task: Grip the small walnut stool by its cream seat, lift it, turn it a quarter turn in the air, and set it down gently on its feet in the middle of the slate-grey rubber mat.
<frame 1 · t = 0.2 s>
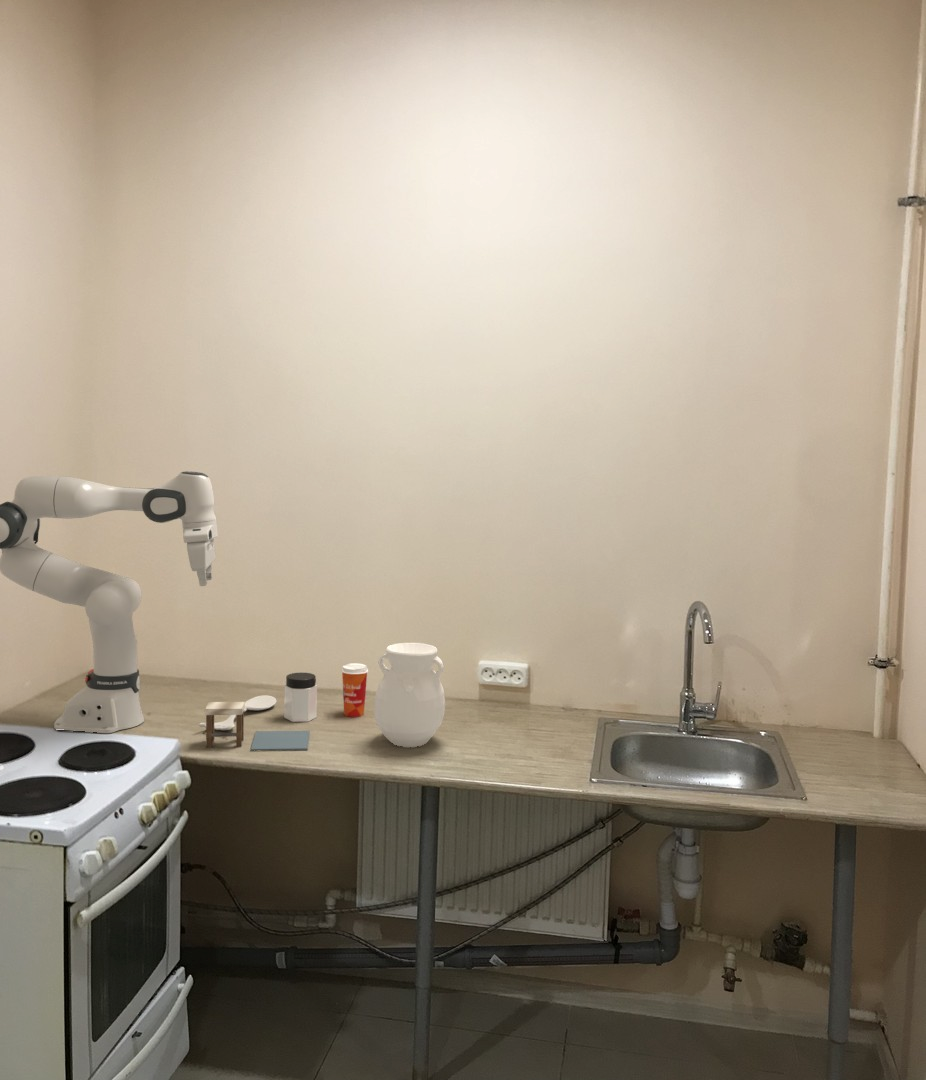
hand: (206, 582, 247), 39 cm above the worktop, tool pointing down, fingers open, 8 cm apart
mat: (281, 741, 238), on the worktop
jar: (300, 718, 258), on the worktop
stool: (225, 743, 235), on the worktop
white vase: (408, 741, 241), on the worktop
white spork: (242, 720, 256), on the worktop
paper cup: (354, 714, 263), on the worktop
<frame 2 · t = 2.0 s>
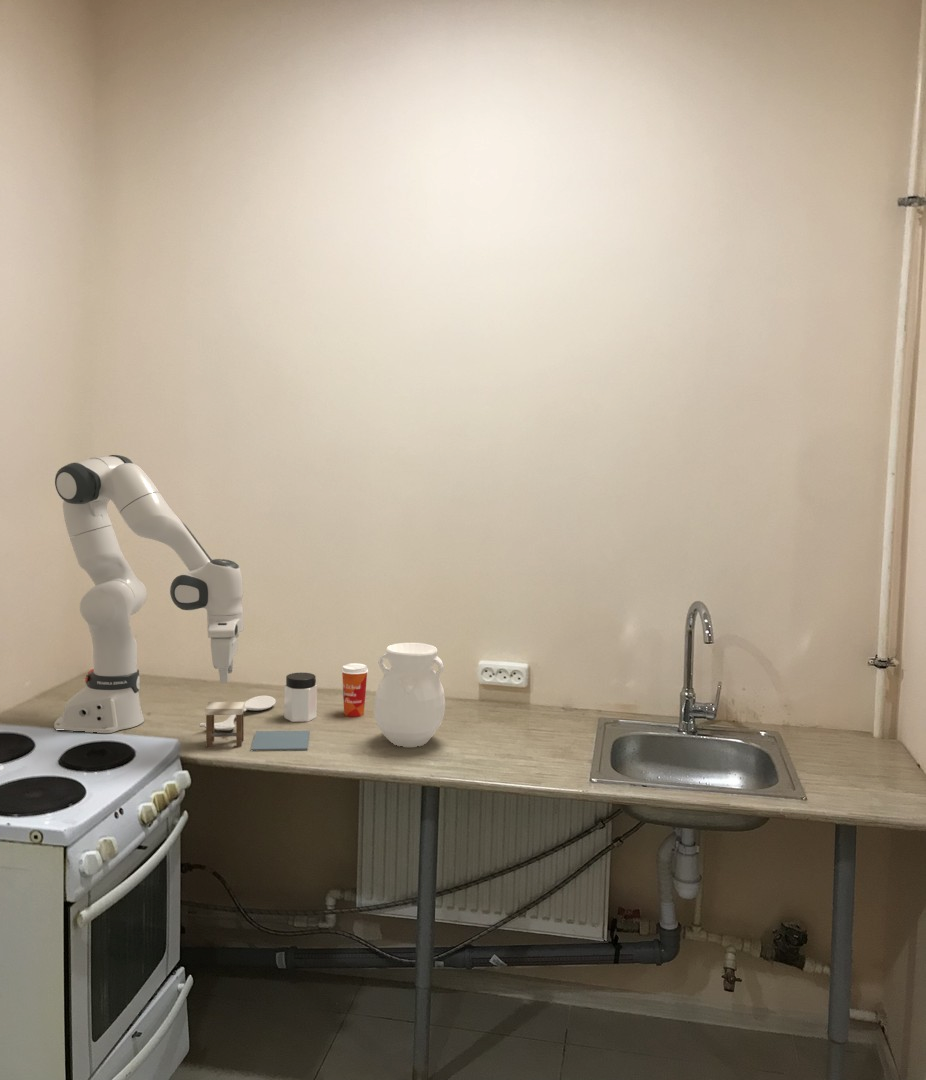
hand: (226, 677, 233), 17 cm above the worktop, tool pointing down, fingers open, 8 cm apart
nothing on the worktop moved.
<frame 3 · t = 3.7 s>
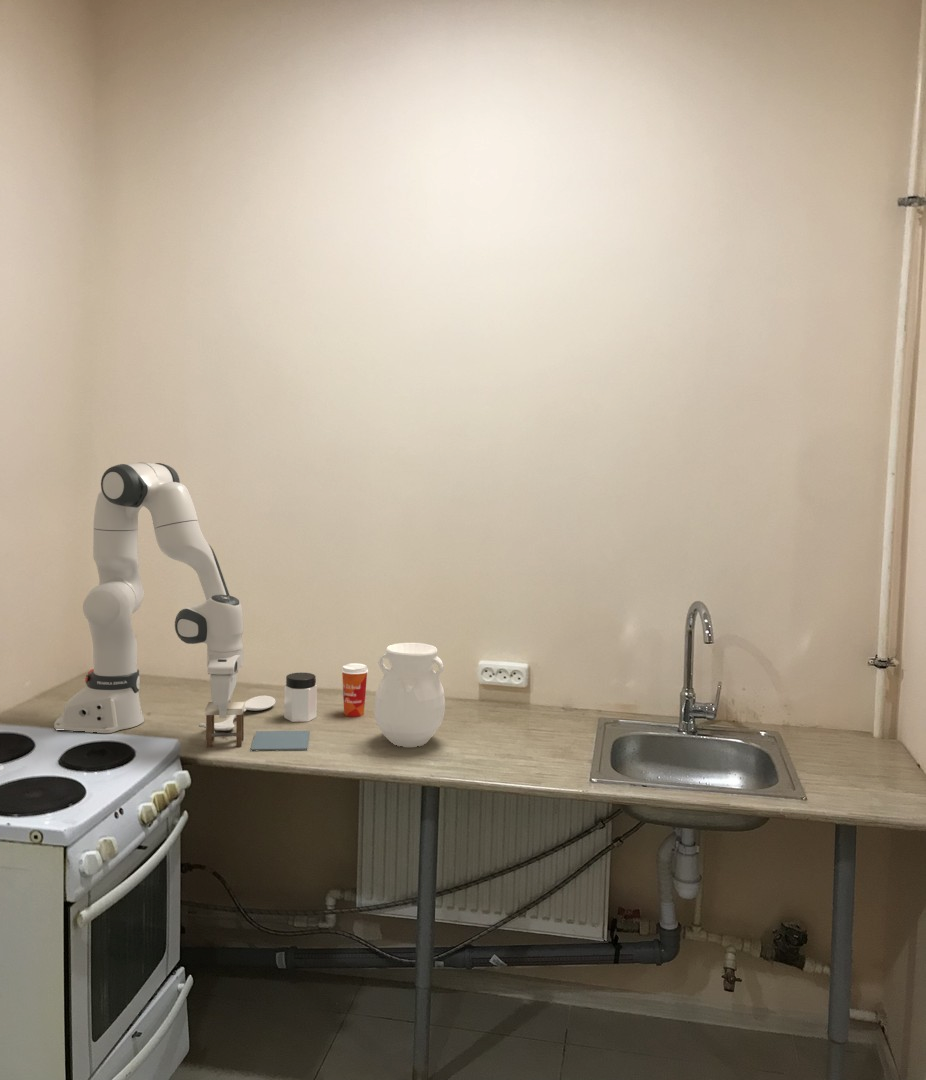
hand: (225, 712, 234), 8 cm above the worktop, tool pointing down, fingers closed on stool, 6 cm apart
stool: (225, 743, 235), on the worktop, touching gripper
everything else where it was.
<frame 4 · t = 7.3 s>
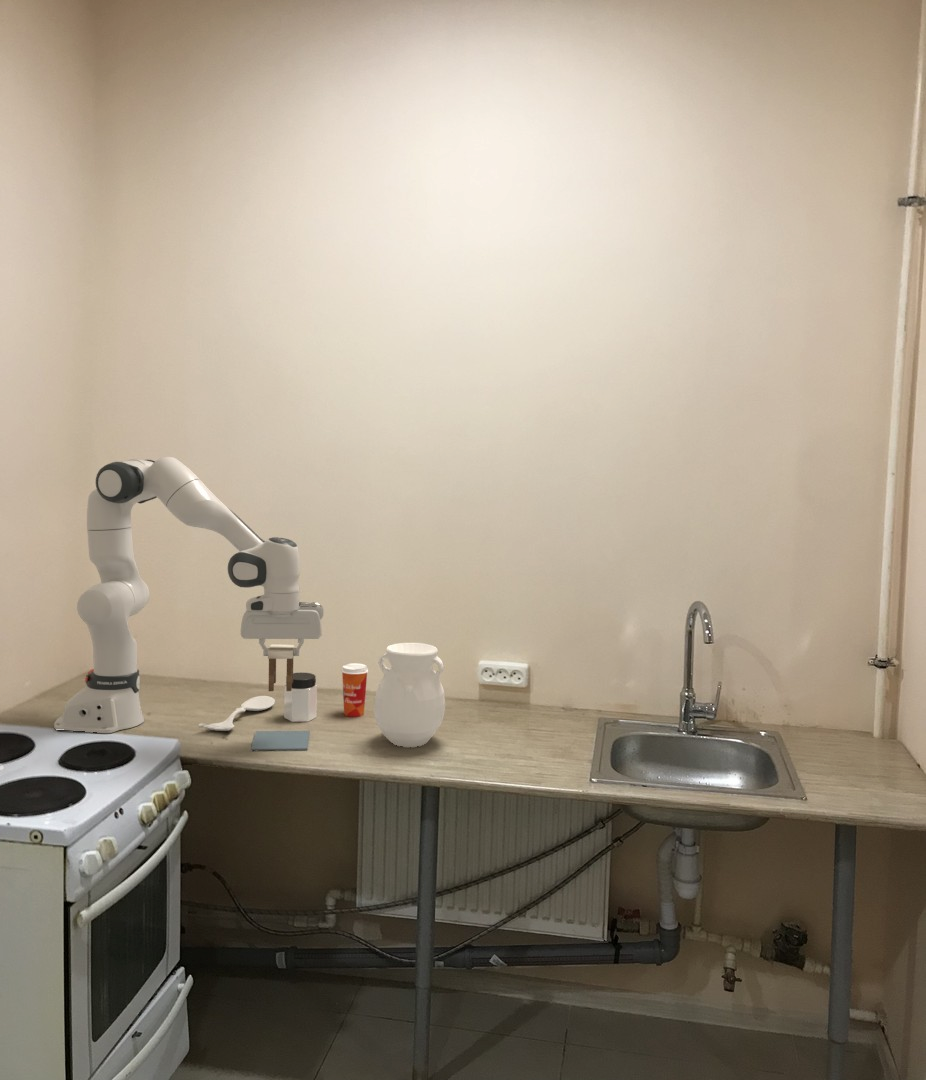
hand: (281, 655, 234), 23 cm above the worktop, tool pointing down, fingers closed on stool, 6 cm apart
stool: (281, 686, 235), point 15 cm above the worktop, touching gripper
everything else where it was.
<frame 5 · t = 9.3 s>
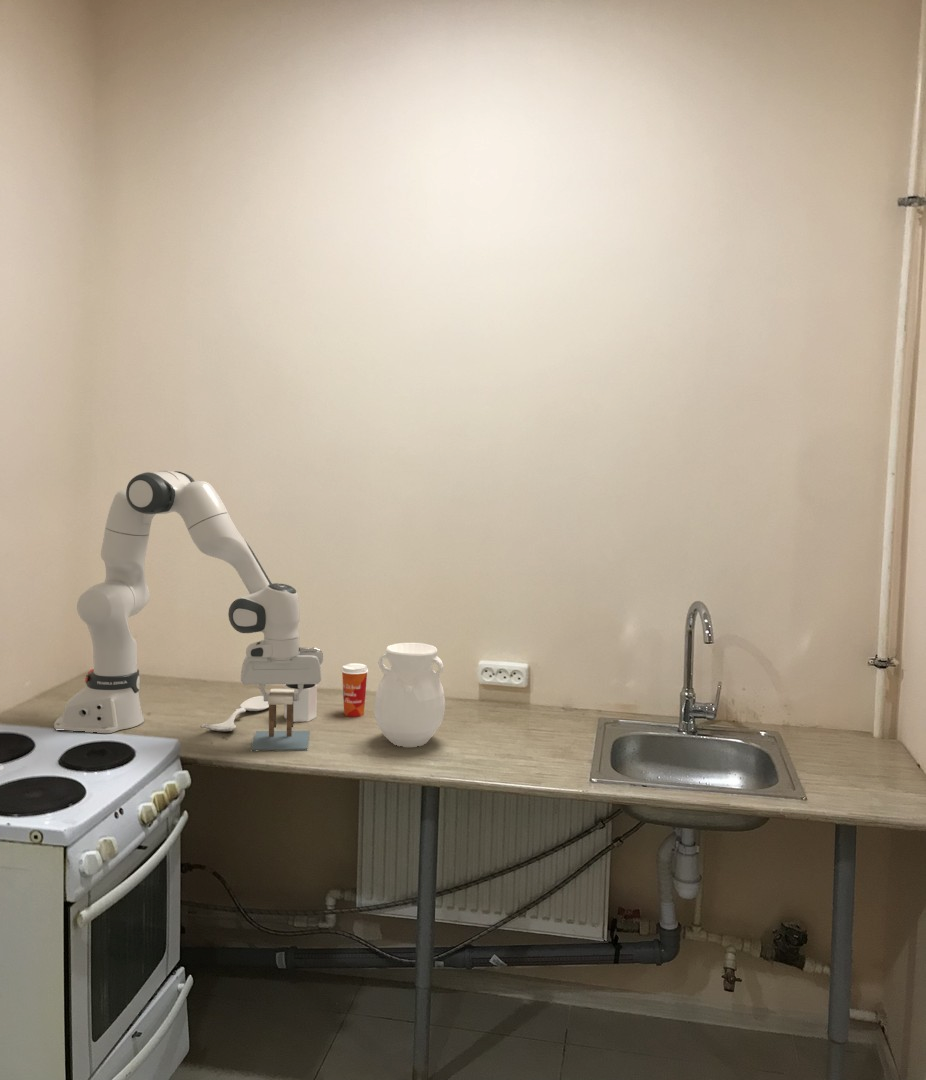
hand: (281, 700, 235), 11 cm above the worktop, tool pointing down, fingers closed on stool, 6 cm apart
stool: (281, 731, 236), point 3 cm above the worktop, touching gripper
everything else where it was.
when the fingers open (10 cm above the worktop, at t = 10.9 s): stool stays where it is, resting on mat.
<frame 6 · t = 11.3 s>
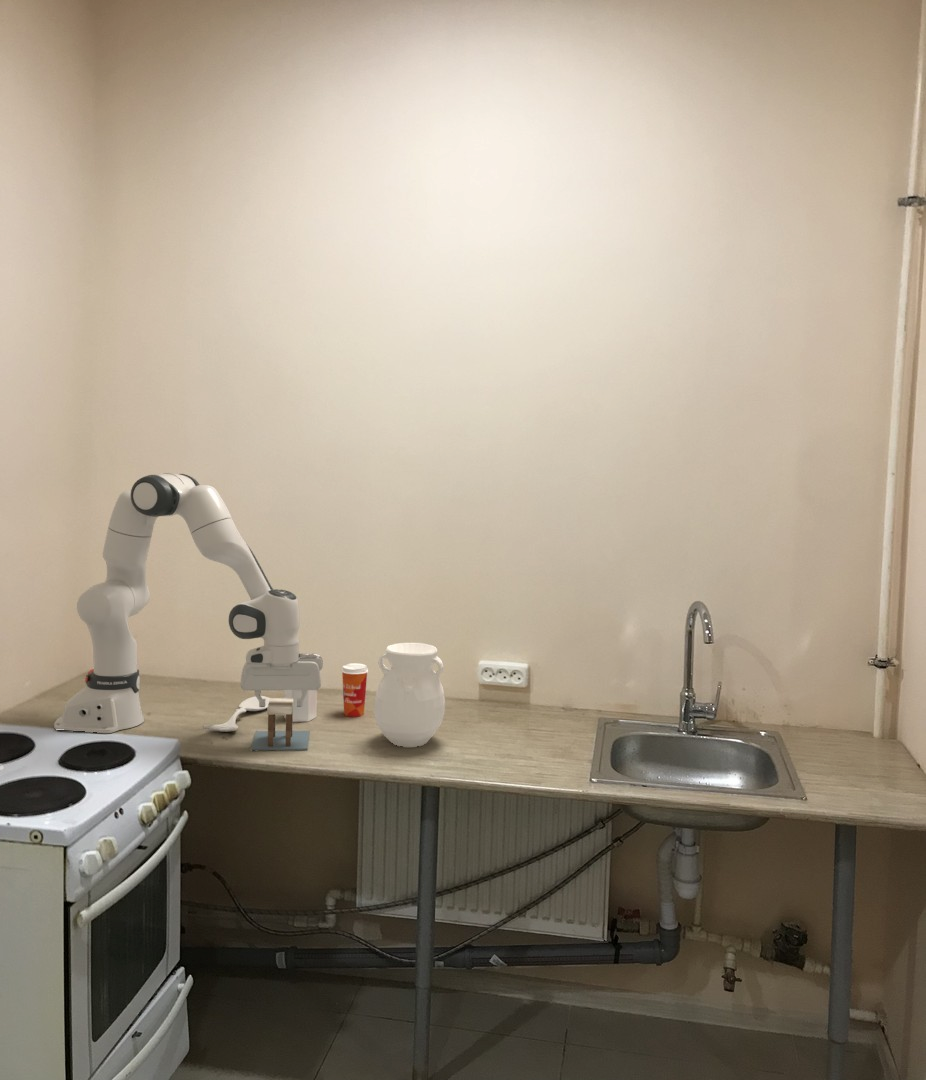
hand: (281, 706, 236), 10 cm above the worktop, tool pointing down, fingers open, 8 cm apart
stool: (280, 740, 237), resting on mat
everything else where it was.
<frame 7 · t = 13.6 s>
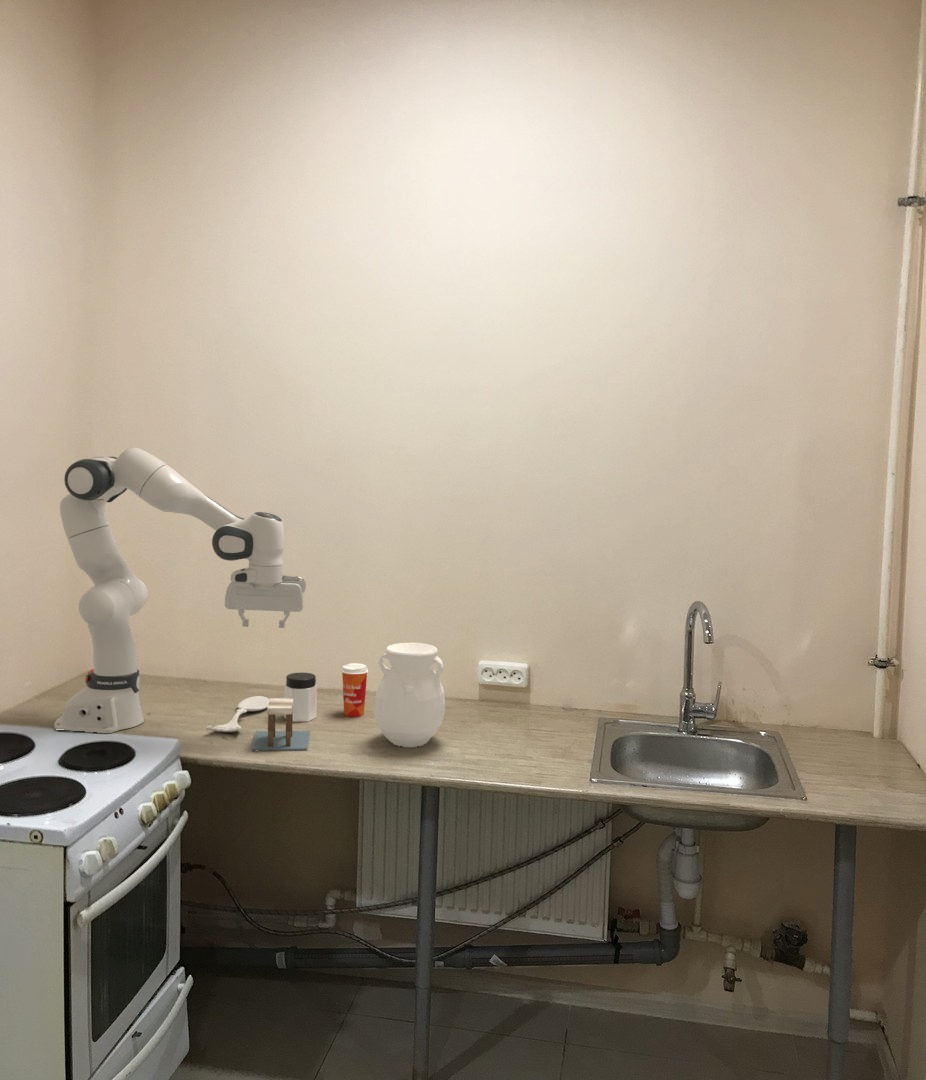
hand: (263, 626, 241), 29 cm above the worktop, tool pointing down, fingers open, 8 cm apart
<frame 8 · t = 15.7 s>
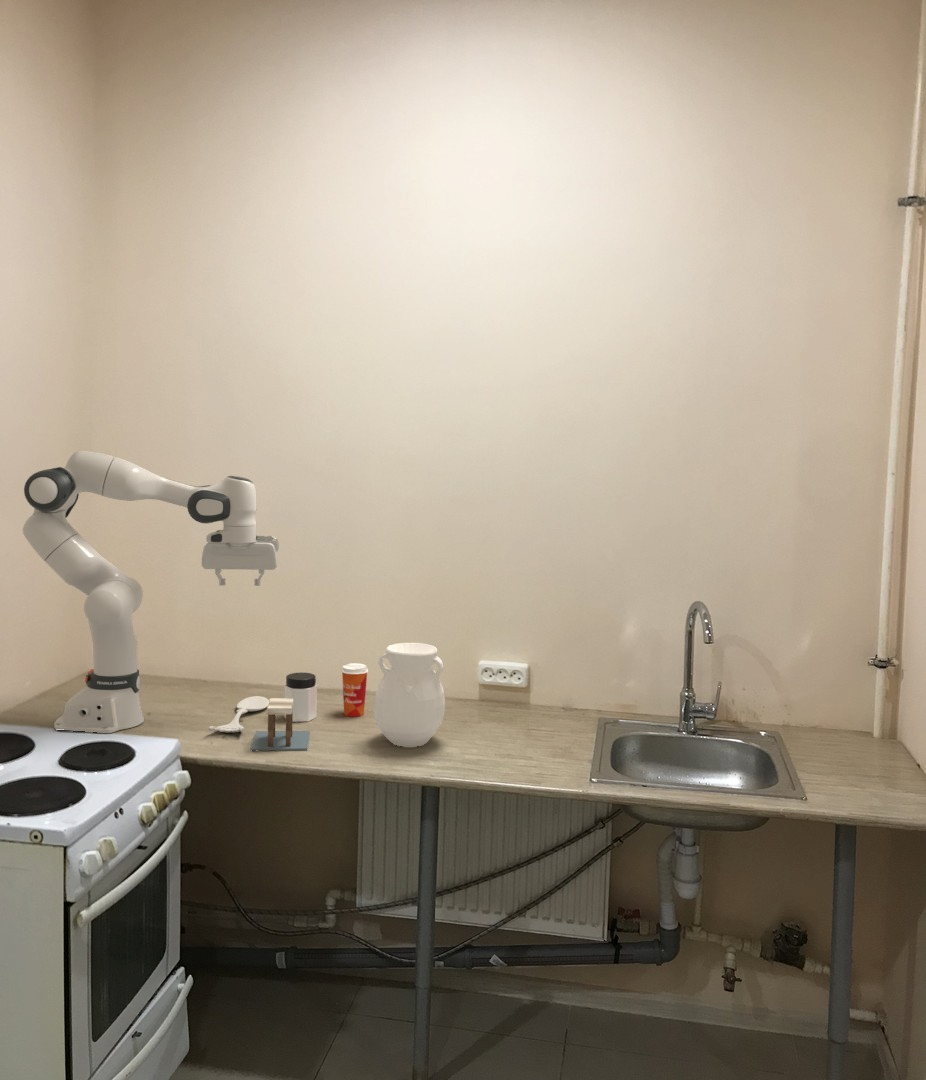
hand: (239, 585, 253), 37 cm above the worktop, tool pointing down, fingers open, 8 cm apart
at the end: stool inside the target area on the mat (1.1 cm from its centre), point 0.5 cm above the mat's base; stool tilted 0°; the gripper is holding nothing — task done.
